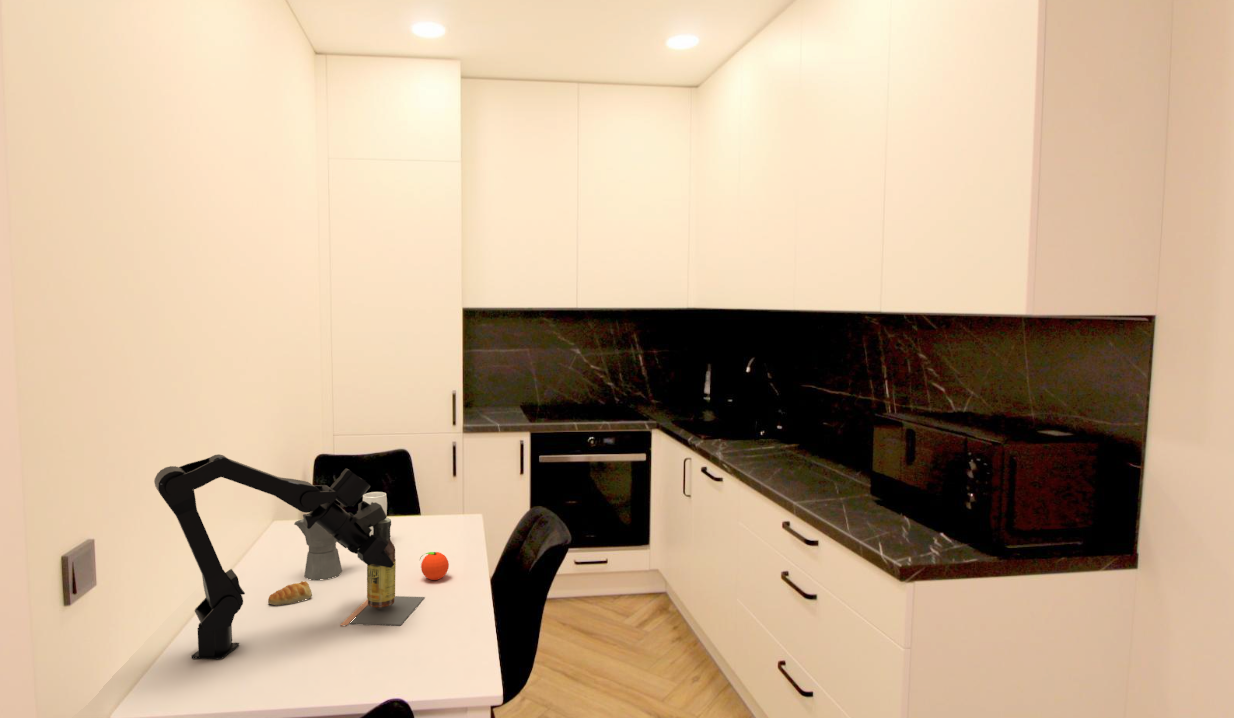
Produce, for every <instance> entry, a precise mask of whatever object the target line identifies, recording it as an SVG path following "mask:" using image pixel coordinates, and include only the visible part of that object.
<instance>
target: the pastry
mask: <svg viewBox="0 0 1234 718" xmlns="http://www.w3.org/2000/svg"><path fill="white" fill-rule="evenodd" d="M312 597H313V592H312V590H311V587H310V583H308V582H307V581H300V582H298V583H295V582H294V583H290V584H287V585H286V586H284V587H282V588H280V589H278V590H276V591H275V592H273V593H272V594H270V595H269V597H268V599H267V601H268V604H270V605H272V606H277V605H279V606H283V605H282V604H286V605H292V604H291V603H293V604H295V603H294V602H297V603H299V602H298V601H302V600H305V599H309V598H312ZM309 600H310V599H309ZM302 602H303V601H302Z"/></svg>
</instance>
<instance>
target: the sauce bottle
mask: <svg viewBox="0 0 1234 718" xmlns="http://www.w3.org/2000/svg"><path fill="white" fill-rule="evenodd" d="M391 527H392V520H391V519H390V518H388V517H387V518H386V519H385V520H383V521H380V522H378V523H377V524H375V525H374V526H373V535H374V534H378V535H379V536H381V537H383V538H384V539H385V540H386V541H387V542H388V545H387V546H386V547H385V549H384V550H385V552H386V553H387V555H388V556H389V557H390V559H391V560H392V562H393V563H394V565H393V566H392V568H389V567H384V566H379V565H374V564H371V565H367V564H366V565H367V566H366V576H367V577H366V600H367V599H368V605H369V606H371V607H374V608H383V607H387V606H390V605H392V604H393V603H394V601H395V600H394V597H395V596H396V567H397V566H396V563H397V561H396V547H395V544H394V543H393V542H392V540H391Z"/></svg>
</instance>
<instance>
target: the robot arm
mask: <svg viewBox="0 0 1234 718" xmlns="http://www.w3.org/2000/svg"><path fill="white" fill-rule="evenodd" d="M219 478H223V479H227V480H229V481H232V482H234V483H238V484H240V485H242V486H246V487H249V488H250V489H251V488H252V489H253V490H254V489H255V490H257V491H260V492H263V493H265V494H268V495H272V496H274V497H276V498H277V499H279V500H281V501H282V502H284V503H286V504H287V505H289V506H290V507H293V508H294V509H296V510H298V511H300V512H302V513H304V514H302V519H304V520H303V525H304V526H305V527H306V528H308V529H310V528H311V527H312V526H313V525H314V524H315V523H316V524H317V525H319V526H320V527H321V528H322V529H324V530H325V531H326V532H328V533H329V534H330V535H331V536H332V537H334V538H335V539H336V540H337V542H336V543H338V544H339V545H340V546H342V547H343V548H344V549H347V550H348V551H349V552H351V553H353V554H356V555H357V558H358V559H359V560H361V561H362V562H363V563H365V564H366V565H371V564H374V565H379V566H384V567H389V568H392V566H393V565H394V563H393V562H392V560H391V559H390V557H389V556H388V555H387V553H386V552H385V550H384V549H385V547H386V546H387V545H388V542H387V541H386V540H385V539H384V538H383V537H381V536H379V535H378V534H374V535H371V536H370V532H371V531H372V530H371V529H370V528H369V527H372V526H374V525H375V524H377V523H378V522H380V521H383V520H385V519H386V518H388V516H387V515H386V514H385V512H384V510H383V508H382V506H381V505H380V504H378V503H376V502H375V503H373V502H372V503H371V504H368V503H367V502H365V501H363V500H362V501H361V502H359V501H360V499H361V498H363V495H364V494H367V491H368V490H370V488H371V485H370V483H368V482H367V481H366V480H364V479H363V478H361V477H360V476H358V475H357V474H355V473H354V472H353V471H351V470H350V469H348V468H345V469H344V470H343V471H342V472H341V473H340V475H339V477H338V478H336V480H335V481H334V482H333V483H332V484H331V486H330V487H329V486H328V485H321V484H320V485H316V484H315V485H313V484H312V483H311V482H309V481H305V480H300V479H296V478H295V479H294V478H287V477H286V478H285V477H281V476H276V475H274V474H271V473H268V472H265V471H263V470H261V469H258V468H255V467H253V466H249V465H247V464H244V463H241V462H240V461H239V462H238V461H235V460H233V459H230V458H228V457H226V456H225V455H223V454H214V455H212V456H210V457H207V458H204V459H201V460H197V461H194V462H190V463H186V464H184V465H181V466H176V465H175V466H174V465H173V466H172V465H170V466H166V467H164V468H162V469H160V470H159V471H158V472H157V474H156V476H155V477H154V481H153V482H154V488H156V490H157V491H158V493H159V494H160V496H161V498H162V499H163V501H165V503H166V504H167V506H168V507H169V508H170V510H171V511H172V513H173V514H174V516H175V517H176V519H177V521H178V523H179V526H180V528H181V530H182V533H183V534H184V535H183V536H184V537H185V539H186V542H187V543H188V546H189V548H190V550H191V553H192V555H193V557H194V560H195V562H196V564H197V566H198V568H199V571H200V573H201V577H202V584H203V585H202V586H203V591H204V595H205V598H204V599H202V601H201V602H200V604H199V605H198V606H197V607H195V609H194V613H195V615H196V616H197V618H198V621H199V623H198V624H197V625H198V627H197V646H198V649H197V651H195V652H194V653H193V654H191V655H190V656H191V657H190V658H191V659H200V660H201V659H202V660H203V659H205V660H206V659H207V660H209V659H210V660H221V659H224V658H225V657H227V655H229V654H230V653H232V652H233V651H234V650H235V649H236V648H238V647H239V646H240V642H233V629H232V628H233V627H232V625H233V621H234V619H235V615H236V614H238V612H239V611H240V610H241V608H242V606H243V604H244V598H243V595H245V594H246V592H245V591H244V589H243V588H242V587H241V586H240V582H239V581H240V580H239V578H238V576H237V574H236V573H235V571H234V570H233V569H232V568H230V569H229V570H227V571H225V570H224V569H223V566H222V564H221V561H220V560H219V557H218V555H217V553H216V550H215V548H214V546H213V543H212V541H211V539H210V537H209V534H208V532H207V530H206V527H205V525H204V523H203V520H202V519H201V516H200V514H199V511H198V508H197V501H196V500H197V498H196V494H195V490H197V489H199V488H202V487H203V486H205V485H207V484H210V483H211V482H213V481H215V480H217V479H219ZM335 501H337V502H338V503H340V505H342V506H343V507H345V508H347V507H348V506H349V507H354V506H355V505H356V504H357V503H358V502H359V503H358V504H357V505H358V506H357V510H356V513H355V514H353V515H354V516H353V515H351V514H350V513H351V512H347V511H346V510H345V509H343V508H342V507H341V506H340V505H339V504H338V503H336V502H335Z"/></svg>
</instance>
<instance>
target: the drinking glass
mask: <svg viewBox="0 0 1234 718" xmlns="http://www.w3.org/2000/svg"><path fill="white" fill-rule="evenodd" d="M362 501H365V502H367V503H368V504H371V503H372V502H373V503H375V502H376V503H378V504H380V505H381V506H382V508H383V510H384V512H385V514H386V516H387V514H388V513H387V512H388V511H387V510H388V498H387V493H386V492H383V491H371V492H366V493H365V494H364V495H363V496H362ZM369 528H370V529H371V530H372V531H371V532H370V536H371V535H373V526H372V527H369Z"/></svg>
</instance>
